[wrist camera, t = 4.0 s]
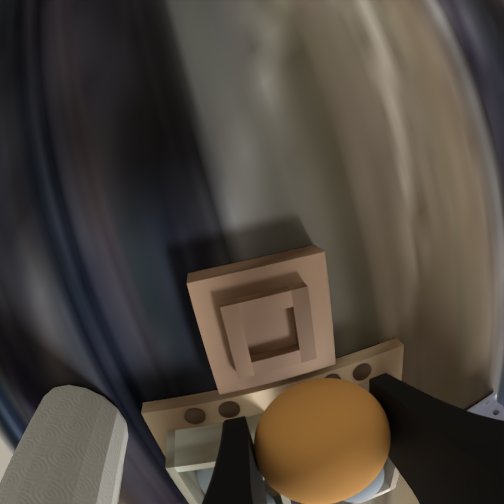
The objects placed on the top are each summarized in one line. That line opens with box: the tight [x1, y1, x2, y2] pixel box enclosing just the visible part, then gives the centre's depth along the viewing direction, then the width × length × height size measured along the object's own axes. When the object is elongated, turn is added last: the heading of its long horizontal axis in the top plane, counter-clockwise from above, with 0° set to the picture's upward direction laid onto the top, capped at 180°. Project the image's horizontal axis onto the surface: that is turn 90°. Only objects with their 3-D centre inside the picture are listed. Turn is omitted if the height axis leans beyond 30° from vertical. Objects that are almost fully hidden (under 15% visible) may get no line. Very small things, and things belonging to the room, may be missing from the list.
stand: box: [187, 245, 336, 394], centre depth 16 cm, size 6×6×2 cm
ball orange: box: [254, 378, 391, 504], centre depth 8 cm, size 4×4×4 cm
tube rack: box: [141, 338, 404, 504], centre depth 18 cm, size 16×13×4 cm
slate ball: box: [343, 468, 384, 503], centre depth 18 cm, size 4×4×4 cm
